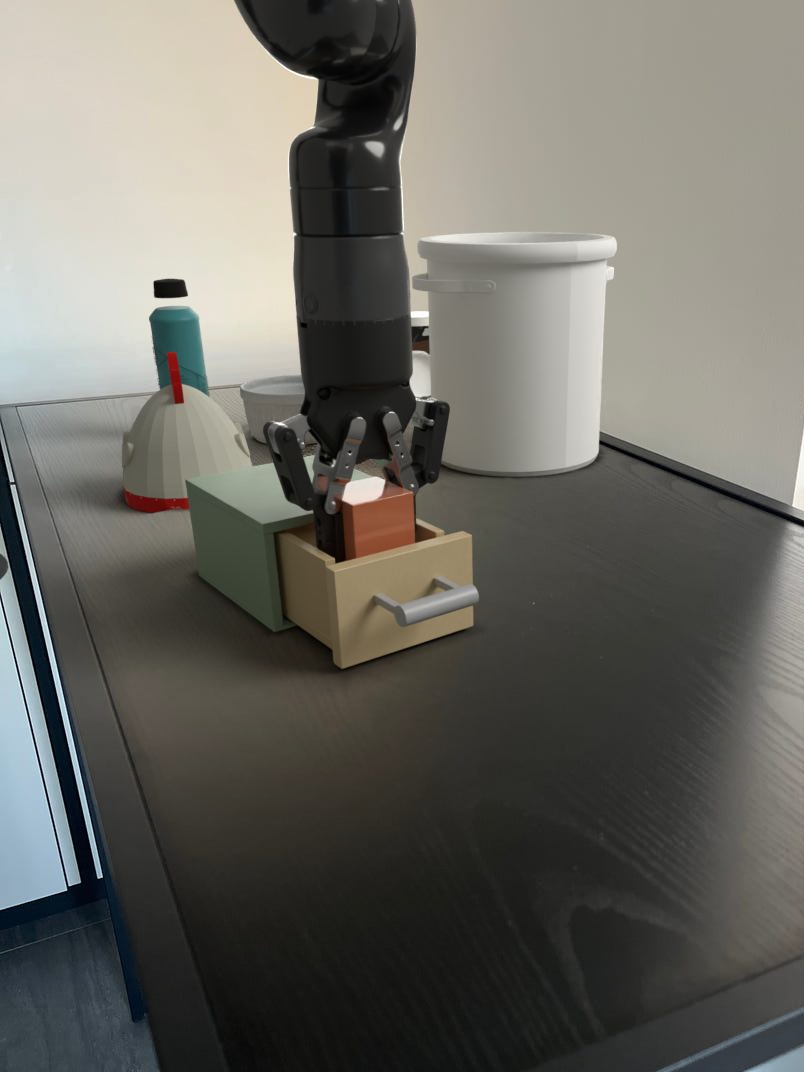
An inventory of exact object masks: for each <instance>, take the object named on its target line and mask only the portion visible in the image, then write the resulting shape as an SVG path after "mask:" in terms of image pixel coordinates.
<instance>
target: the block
mask: <svg viewBox="0 0 804 1072" xmlns="http://www.w3.org/2000/svg"><path fill="white" fill-rule="evenodd" d="M339 512H341V513H343V525H344V539H345V553H346V560H345V561H348V560H352V559H356V558H360V557H364V556H368V555H372V554H375V553H379V552H383V551H387V550H391V549H395V548H399V547H402V546H406V545H410V544H414V543H415V529H414V503H413V492H412V491H409V490H407V489H405V488H402V487H400V486H398V485H395V484H393V483H391V482H388V481H386V479H385V478H381V477H379V476H373V477H371V478H366V479H361V480H356V481H352V482H349V483H347V484H346V486H345V490H344V494H343V498H342V503H341V507H340V509H339ZM345 561H344V562H345ZM340 563H341V562H340Z"/></svg>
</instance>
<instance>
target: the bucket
mask: <svg viewBox="0 0 804 1072" xmlns="http://www.w3.org/2000/svg"><path fill="white" fill-rule="evenodd" d="M416 247H417V248H416V249H417V254H418V255H419V257H420V259H423V260H426V272H425V273H418V274H415V275H413V276H412V277H411V283H412V285H411V286H412V289H413V290H416V291H420V292H427V309H428V310H427V312H429V345H430V378H431V395H430V397H431V398H434V399H438V400H441V401H444V402H447V403H448V404H449V406H450V413H449V419H448V425H447V430H446V436H445V442H444V448H443V454H442V460H441V465H443V466H445V467H446V468H449V469H452V470H455V471H459V472H463V473H468V474H474V475H480V476H487V477H488V476H489V477H501V478H502V477H505V478H507V477H508V478H525V477H540V476H541V477H543V476H551V475H558V474H563V473H569V472H572V471H577V470H579V469H581V468H584V467H587V466H588V465H590V464H592V463H593V462H594V461H595V460H596V459H597V457H598V454H599V451H600V427H601V426H600V425H601V408H602V407H601V405H602V383H603V362H604V361H603V359H604V335H605V333H604V332H605V315H606V314H605V313H606V292H607V291H606V290H607V283H608V281H612V280H613V279H614V276H615V267H614V266H610V265H608V259H610V258H612V257H615V255H616V253H617V251H618V241H617V239H616V237H615V236H612V235H608V234H601V233H599V234H598V233H585V232H584V233H583V232H559V231H558V232H557V231H556V232H555V231H498V232H494V231H493V232H469V233H451V234H439V235H432V236H431V235H429V236H424V237H421V238H419V240H418V242H417V246H416Z"/></svg>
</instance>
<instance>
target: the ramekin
mask: <svg viewBox="0 0 804 1072" xmlns="http://www.w3.org/2000/svg"><path fill="white" fill-rule="evenodd" d="M239 396H240V398H241V399H242V402H243V409H244V413H245V416H246V421H247V425H248V426H247V427H248V429H249V431H250V433H251V435H252V437H254V439H255V440H256V441H258V442H260V443H262V444H266V445H267V443H266V440H265V437H264V434H263V427H264V425H265V424H266V423H267V422H269V421H274V422H277V423H280V422H283V421H285V420H287V419H290V418H292V417H294V416H297V415H299V414H300V409H301V406H302V404H303V401H304V396H305V390H304V385H303V381H302V376H301V374H288V375H287V374H285V375H272V376H264V377H260V378H255V379H251V380H247V381H244V382H242V383H241V384H240V386H239ZM305 444H306V446H307V445H313V444H318V442H317V441H316V440H315V439H314V437H313V436H312V435H311V434H310V433H309V431H307V433H306V435H305Z"/></svg>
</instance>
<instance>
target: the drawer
mask: <svg viewBox="0 0 804 1072" xmlns="http://www.w3.org/2000/svg"><path fill="white" fill-rule="evenodd" d="M416 523H417V529H416V533H415V543H414V544H410V545H406V546H402V547H399V548H395V549H391V550H387V551H383V552H379V553H375V554H372V555H368V556H364V557H360V558H356V559H352V560H348V561H345V562H341V563H335V558H333V557H331V556H329V555H328V554H326V553H324V552H322V551H321V550H319V549H318V548H317V546H316V534H315V533H316V532H315V523H312V524H307V525H303V526H299V527H294V528H290V529H286V530H281V531H277V532H273V535H274V544H275V553H276V563H277V572H278V581H279V590H280V599H281V608H282V614H283V615H284V616H286V617H287V618H289V619H290V620H291V621H293V622H294V623H296V624H297V626H298V627H300V628H301V629H302V630H304V631H305V632H307V633H308V634H310V635H311V636H313V638H315V639H316V640H318V641H320V642H321V643H322V644H324V645H325V646H326V647H327V648H329V649H331V650H332V661H333V664H334V665H335V666H336V667H338V668H340V669H341V670H342V669H346V668H349V667H353V666H355V665H359V664H361V663H364V662H368V661H371V660H373V659H377V658H380V657H382V656H386V655H389V654H391V653H395V652H398V651H401V650H405V649H407V648H411V647H414V646H418V645H420V644H423V643H425V642H429V641H431V640H435V639H438V638H441V637H443V636H447V635H450V634H453V633H456V632H459V631H462V630H463V631H464V630H465V629H468V628H472V627H474V606H475V605H477V604H478V603H479V600H480V595H479V591H478V589H477V587H476V586H475V585H474V583H473V582H474V580H473V578H474V576H473V575H474V574H473V570H474V569H473V535H472V534H470V533H468V532H467V531H464V530H460V531H457V532H453V533H450V534H446V535H445V530H444V529H441V528H440V527H437V526H435V525H432V524H431V523H428V522H426V521H424V520H422V519H419V518H417V517H416Z"/></svg>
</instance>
